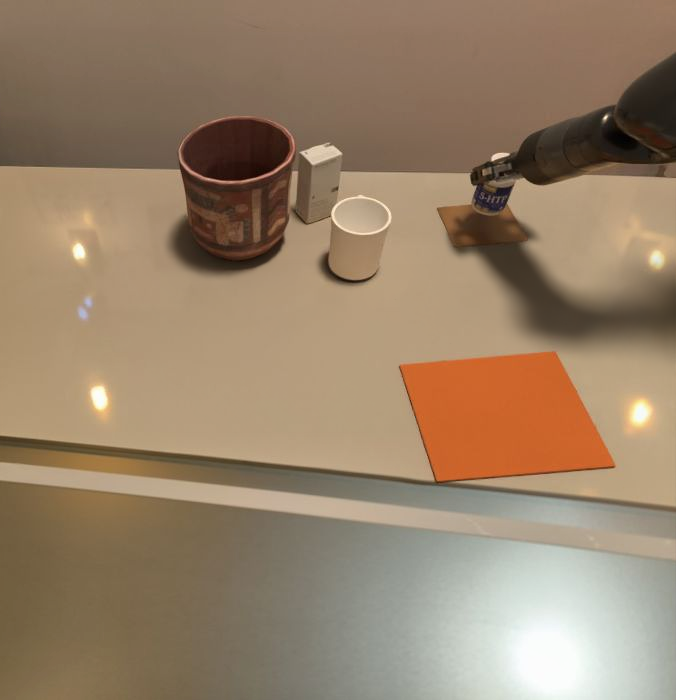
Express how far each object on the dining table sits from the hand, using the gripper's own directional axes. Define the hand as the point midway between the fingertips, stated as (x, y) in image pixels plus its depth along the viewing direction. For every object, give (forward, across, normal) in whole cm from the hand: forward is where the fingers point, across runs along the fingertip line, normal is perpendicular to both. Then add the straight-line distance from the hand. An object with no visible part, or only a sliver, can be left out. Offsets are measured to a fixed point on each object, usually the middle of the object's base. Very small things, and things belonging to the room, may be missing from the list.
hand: (490, 175), depth 97 cm
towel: (-19, +16, +32) cm, 41 cm away
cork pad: (+5, 0, +7) cm, 9 cm away
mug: (+4, +24, +9) cm, 26 cm away
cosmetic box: (+13, +25, -1) cm, 29 cm away
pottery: (+12, +40, +1) cm, 42 cm away
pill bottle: (+2, 0, +5) cm, 5 cm away
